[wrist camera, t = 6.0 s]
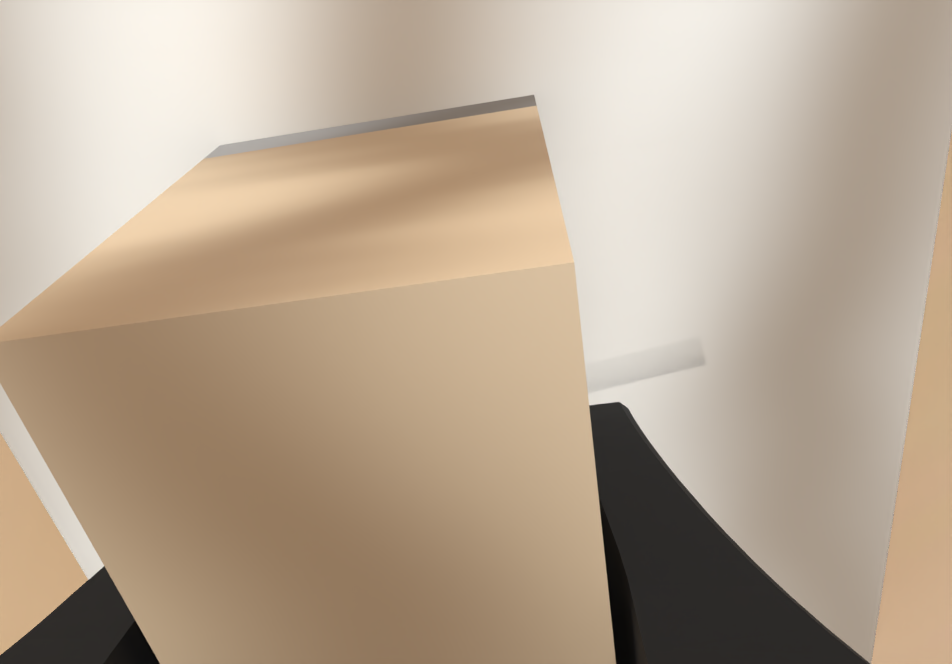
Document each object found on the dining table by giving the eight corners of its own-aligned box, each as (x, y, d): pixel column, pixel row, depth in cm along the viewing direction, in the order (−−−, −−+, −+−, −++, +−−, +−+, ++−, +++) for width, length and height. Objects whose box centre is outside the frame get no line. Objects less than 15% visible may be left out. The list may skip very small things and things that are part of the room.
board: (988, -608, 7) (1076, -703, 6) (840, 648, 16) (865, 701, 14) (-329, -288, 8) (-449, -318, 7) (211, 703, 17) (193, 755, 16)
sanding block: (534, 94, 9) (574, 262, 5) (589, 562, 13) (640, 896, 8) (220, 145, 9) (-22, 345, 5) (366, 585, 13) (303, 915, 9)
